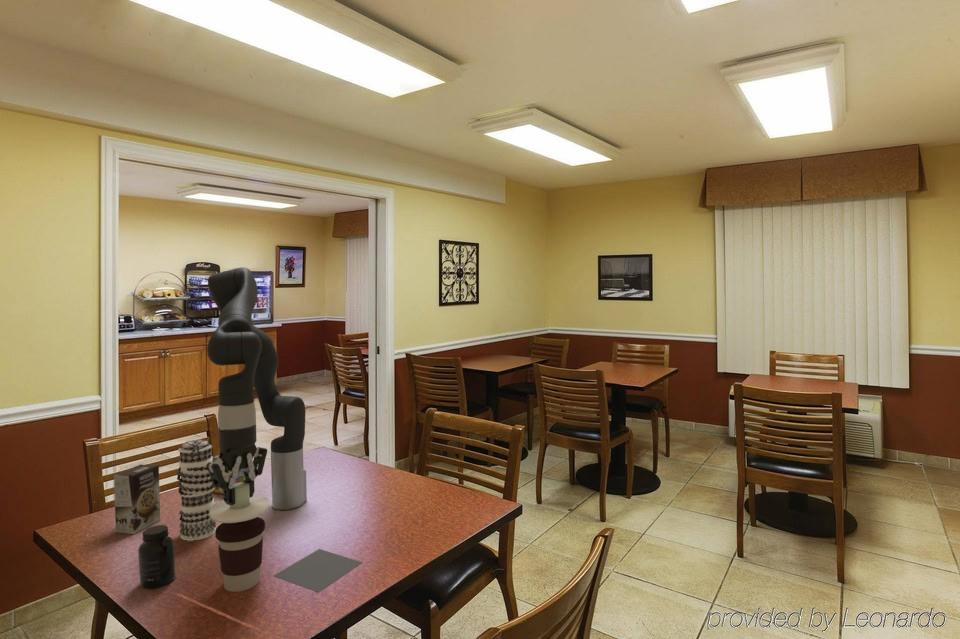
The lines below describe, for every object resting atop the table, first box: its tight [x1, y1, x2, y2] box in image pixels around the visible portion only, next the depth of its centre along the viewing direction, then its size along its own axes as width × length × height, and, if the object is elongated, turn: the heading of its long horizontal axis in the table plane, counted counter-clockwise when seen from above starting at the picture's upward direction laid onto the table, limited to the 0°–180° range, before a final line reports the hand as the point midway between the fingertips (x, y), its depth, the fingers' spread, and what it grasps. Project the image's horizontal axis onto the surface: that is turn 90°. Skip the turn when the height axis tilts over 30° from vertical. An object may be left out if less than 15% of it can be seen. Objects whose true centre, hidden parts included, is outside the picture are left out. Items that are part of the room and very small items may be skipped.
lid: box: [209, 482, 270, 524], centre depth 115 cm, size 12×12×6 cm
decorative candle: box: [176, 439, 217, 542], centre depth 140 cm, size 9×9×25 cm
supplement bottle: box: [137, 524, 176, 590], centre depth 117 cm, size 7×7×12 cm
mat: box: [273, 548, 364, 593], centre depth 121 cm, size 14×14×1 cm
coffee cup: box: [214, 516, 266, 593], centre depth 116 cm, size 10×10×15 cm
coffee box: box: [113, 464, 161, 535], centre depth 145 cm, size 9×6×16 cm
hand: (239, 500), depth 115 cm, fingers closed on lid, 4 cm apart
